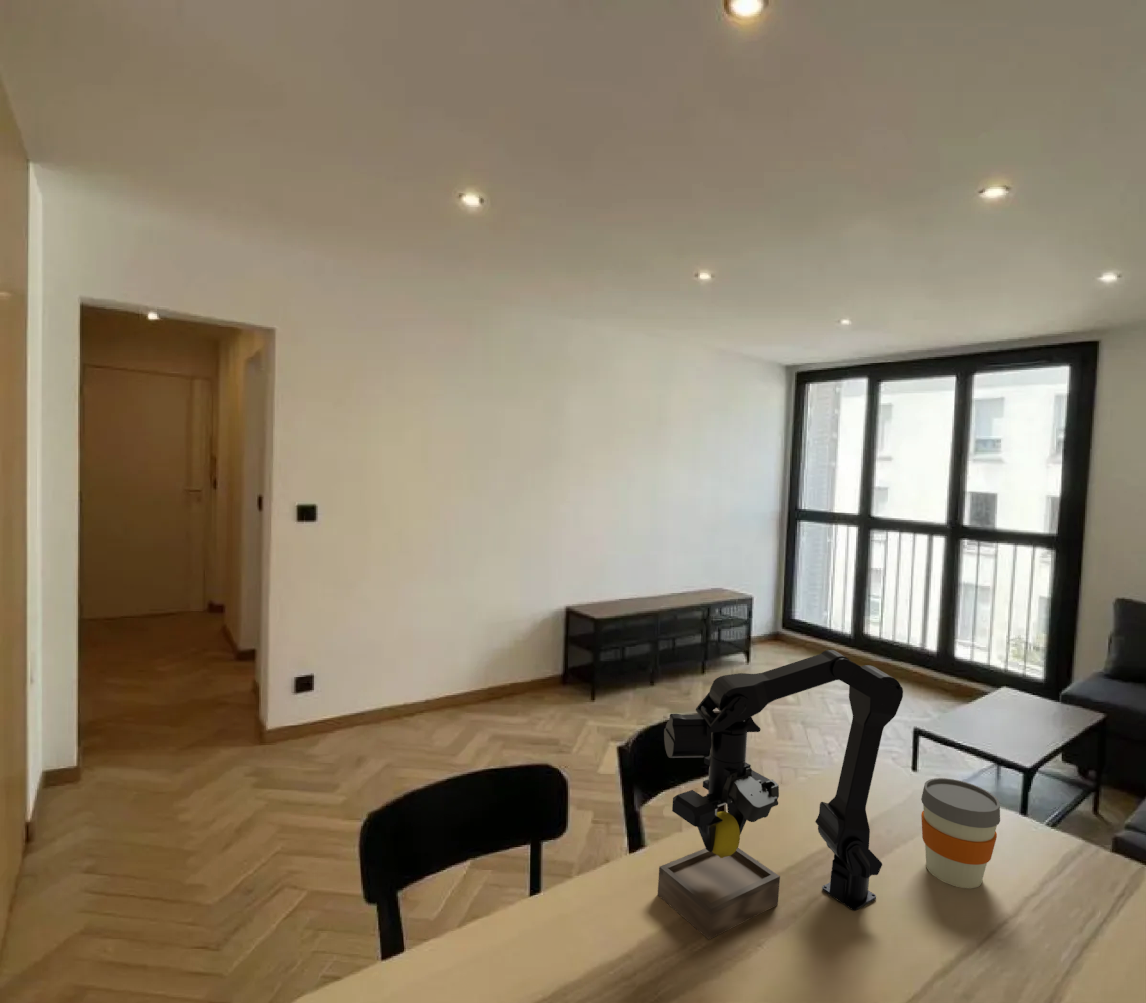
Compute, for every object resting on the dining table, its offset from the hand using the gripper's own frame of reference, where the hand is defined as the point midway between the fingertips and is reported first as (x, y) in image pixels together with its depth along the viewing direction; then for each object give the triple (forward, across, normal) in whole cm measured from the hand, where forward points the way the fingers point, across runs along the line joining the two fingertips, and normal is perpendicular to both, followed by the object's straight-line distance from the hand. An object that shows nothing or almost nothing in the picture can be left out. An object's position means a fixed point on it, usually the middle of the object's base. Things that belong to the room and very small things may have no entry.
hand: (721, 845), depth 113 cm
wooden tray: (+10, 0, 0) cm, 10 cm away
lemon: (+2, 0, 0) cm, 2 cm away
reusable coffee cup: (+10, +44, -16) cm, 48 cm away
